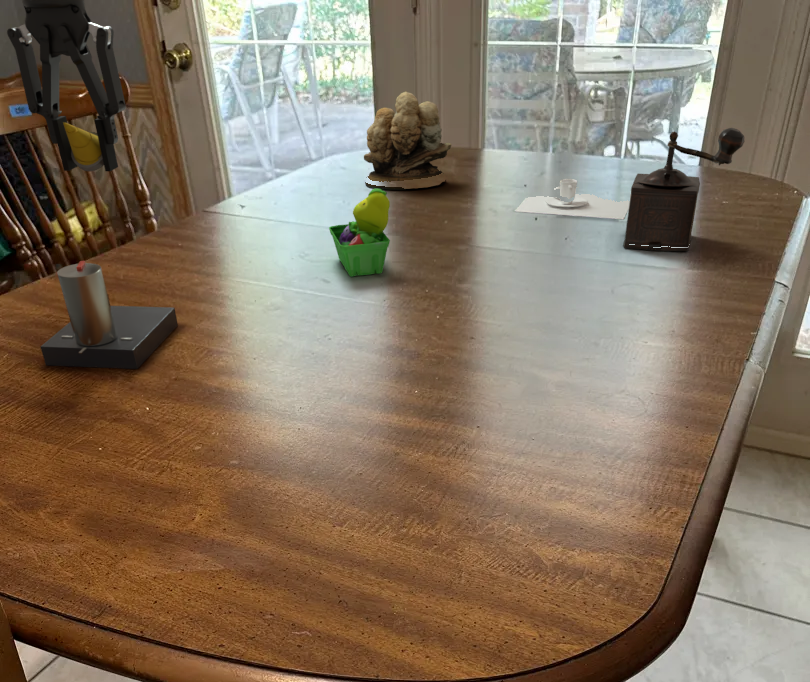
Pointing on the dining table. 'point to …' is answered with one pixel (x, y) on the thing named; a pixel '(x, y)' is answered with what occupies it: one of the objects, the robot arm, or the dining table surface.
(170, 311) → the dial base
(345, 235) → the fruit basket
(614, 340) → the dining table surface
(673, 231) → the manual coffee grinder
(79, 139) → the yellow ridged cone
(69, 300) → the shiny metal cylinder
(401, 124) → the owl figurine
